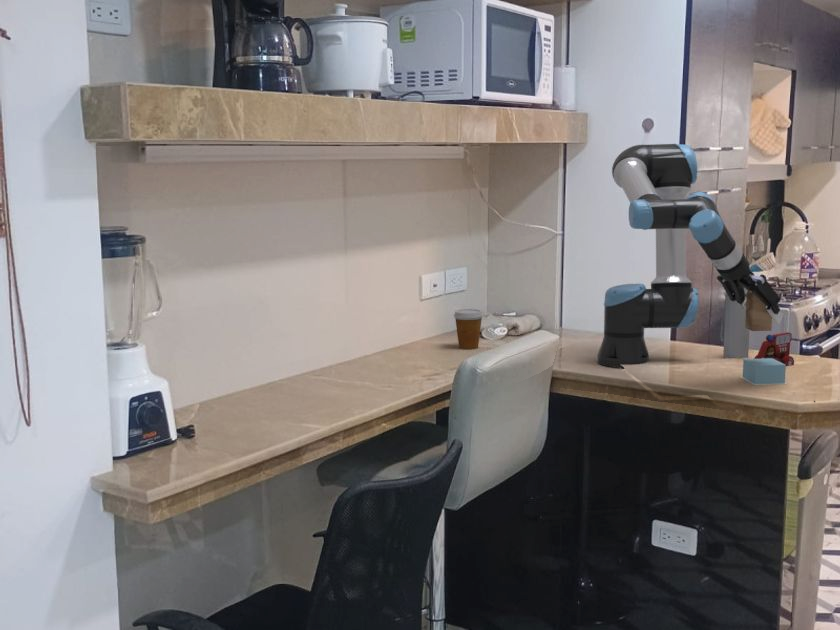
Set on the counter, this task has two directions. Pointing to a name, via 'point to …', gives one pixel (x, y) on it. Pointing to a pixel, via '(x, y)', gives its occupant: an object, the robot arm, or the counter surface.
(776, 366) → the teal block
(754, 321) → the walnut block
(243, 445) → the counter surface
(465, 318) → the disposable coffee cup
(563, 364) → the counter surface
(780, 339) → the toy fire truck
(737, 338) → the water bottle
